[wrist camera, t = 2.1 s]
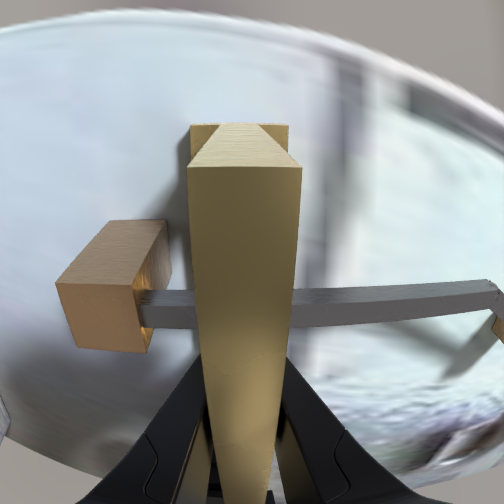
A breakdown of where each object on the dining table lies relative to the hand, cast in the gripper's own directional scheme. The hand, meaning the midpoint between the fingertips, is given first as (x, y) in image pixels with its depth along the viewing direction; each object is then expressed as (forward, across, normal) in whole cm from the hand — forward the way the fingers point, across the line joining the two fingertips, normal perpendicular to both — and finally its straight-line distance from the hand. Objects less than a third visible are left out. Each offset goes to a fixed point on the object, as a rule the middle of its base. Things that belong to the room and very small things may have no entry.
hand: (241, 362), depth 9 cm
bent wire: (+8, -8, +3) cm, 12 cm away
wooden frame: (+8, 0, 0) cm, 8 cm away
